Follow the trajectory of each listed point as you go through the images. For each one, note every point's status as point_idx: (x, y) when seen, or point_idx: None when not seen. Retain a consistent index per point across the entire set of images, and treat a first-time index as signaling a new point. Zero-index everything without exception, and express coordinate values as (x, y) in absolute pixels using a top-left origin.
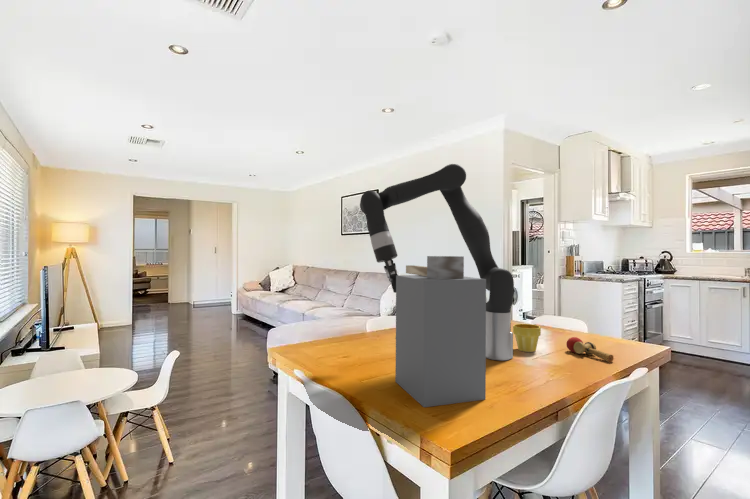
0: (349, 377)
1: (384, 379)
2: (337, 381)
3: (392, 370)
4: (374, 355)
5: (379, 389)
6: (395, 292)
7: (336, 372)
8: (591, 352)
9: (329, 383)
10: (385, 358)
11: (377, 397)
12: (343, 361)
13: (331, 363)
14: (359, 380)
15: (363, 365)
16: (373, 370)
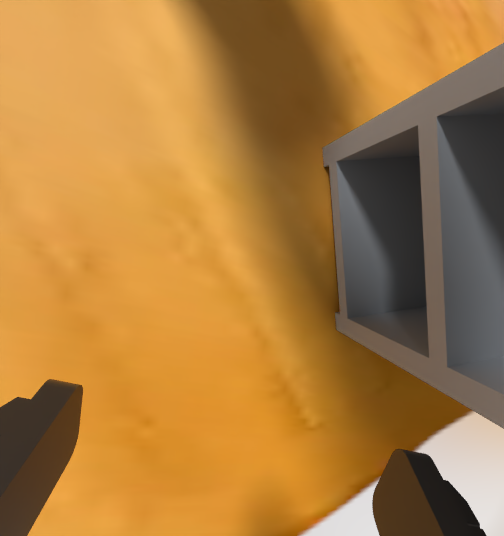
0: (273, 459)
1: (311, 358)
2: (300, 493)
3: (230, 316)
4: (8, 349)
5: (382, 384)
6: (78, 430)
7: (217, 499)
8: None
9: (312, 514)
10: (66, 311)
11: (429, 396)
12: (86, 479)
13: (107, 522)
14: (304, 431)
15: (153, 408)
16: (218, 379)
